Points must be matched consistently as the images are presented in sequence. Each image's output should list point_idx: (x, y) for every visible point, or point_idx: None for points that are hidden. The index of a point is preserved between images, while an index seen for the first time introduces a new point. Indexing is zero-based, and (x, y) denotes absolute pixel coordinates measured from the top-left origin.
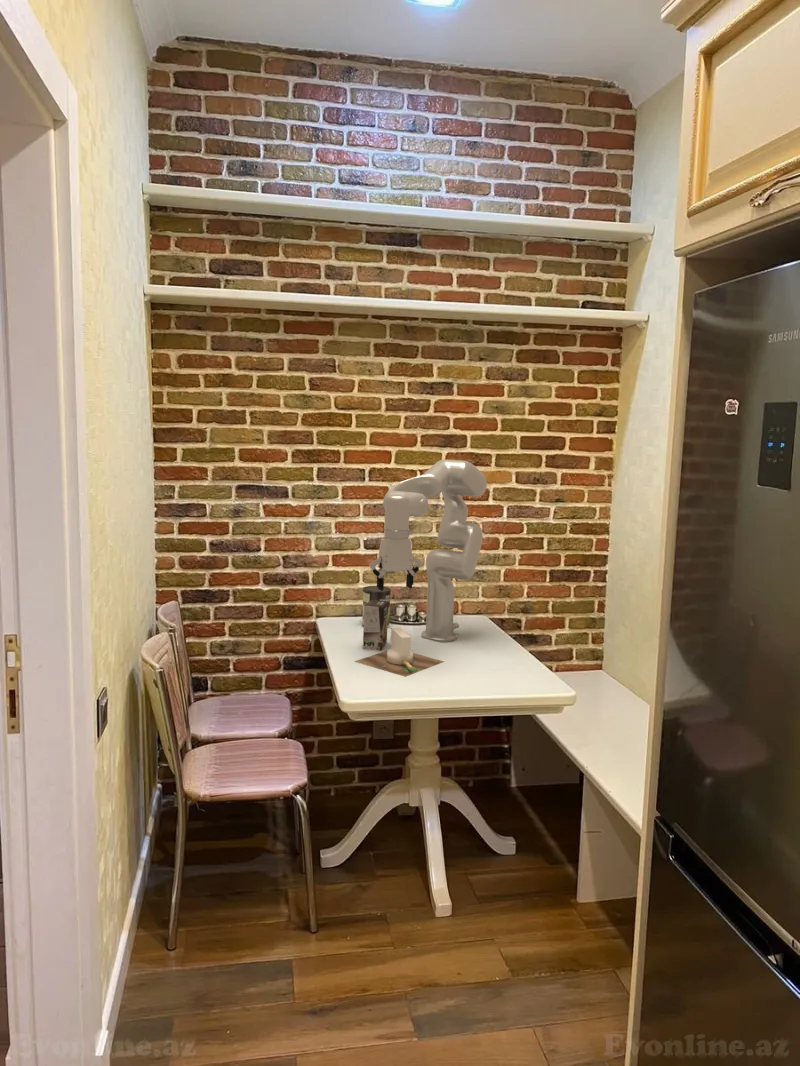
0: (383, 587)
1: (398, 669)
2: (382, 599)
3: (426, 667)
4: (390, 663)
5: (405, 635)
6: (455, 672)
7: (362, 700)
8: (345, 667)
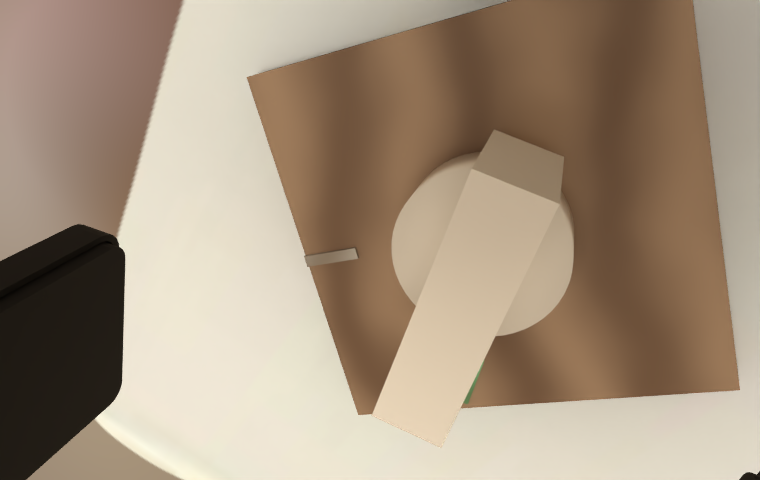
0: (80, 426)
1: (392, 325)
2: None
3: (549, 393)
4: None
5: (430, 398)
6: (692, 469)
7: (117, 429)
8: (210, 65)
